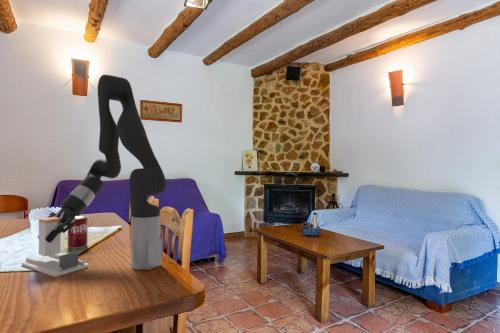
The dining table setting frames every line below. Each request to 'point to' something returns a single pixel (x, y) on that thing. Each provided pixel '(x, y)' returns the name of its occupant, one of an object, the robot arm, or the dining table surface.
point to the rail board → (56, 264)
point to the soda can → (78, 233)
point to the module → (44, 230)
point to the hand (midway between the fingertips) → (43, 240)
